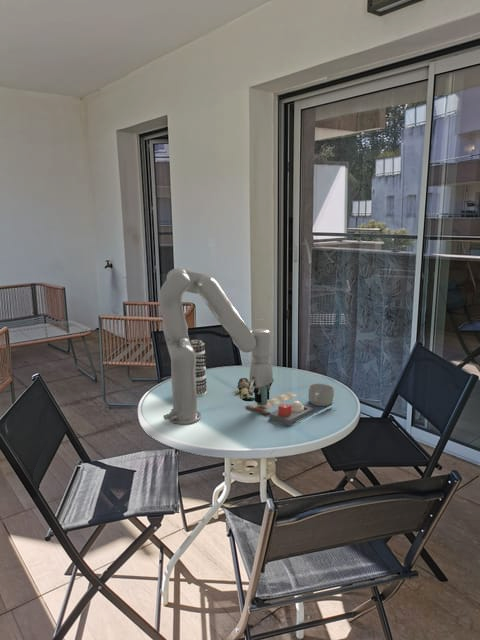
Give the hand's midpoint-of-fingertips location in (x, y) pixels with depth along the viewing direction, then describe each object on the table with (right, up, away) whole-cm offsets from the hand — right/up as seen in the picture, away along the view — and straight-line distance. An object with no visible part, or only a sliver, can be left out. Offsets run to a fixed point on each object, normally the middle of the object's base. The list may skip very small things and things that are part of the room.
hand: (262, 400), depth 200 cm
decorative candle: (-29, 0, +21) cm, 36 cm away
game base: (+12, -5, -7) cm, 15 cm away
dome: (+14, -5, -5) cm, 15 cm away
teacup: (+25, -3, +4) cm, 25 cm away
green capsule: (0, -1, 0) cm, 1 cm away
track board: (+6, -2, +7) cm, 10 cm away
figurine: (-7, -1, +18) cm, 19 cm away
